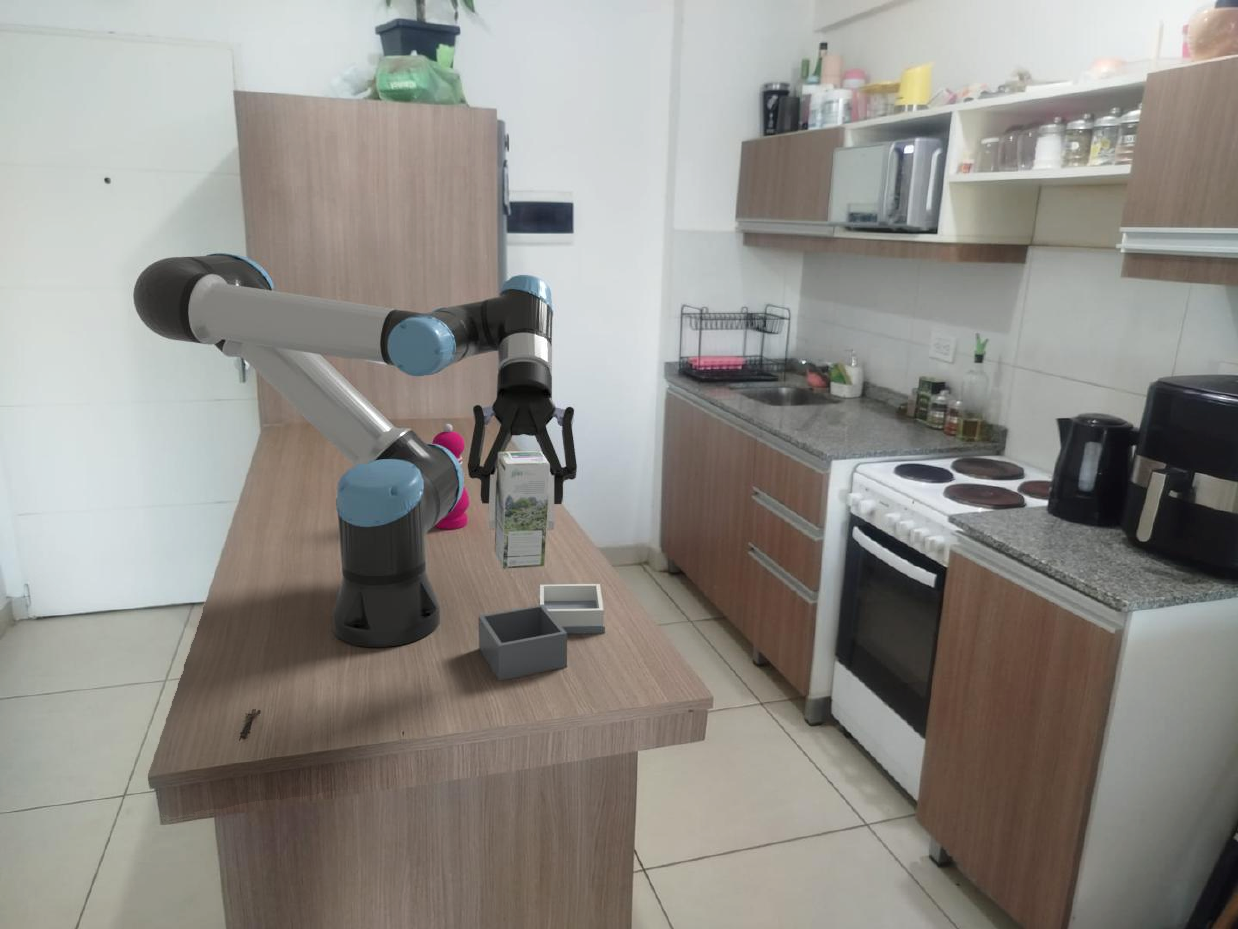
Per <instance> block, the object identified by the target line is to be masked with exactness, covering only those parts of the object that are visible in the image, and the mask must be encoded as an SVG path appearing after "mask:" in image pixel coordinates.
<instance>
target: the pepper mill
mask: <svg viewBox="0 0 1238 929" xmlns="http://www.w3.org/2000/svg"><path fill="white" fill-rule="evenodd" d="M442 430H443V431H441V432H439V433H437V434H436V435H435V436H433V439H432V443H431V444H437V445H440V446H443V447H444V448H446V449H448V450H449V451H450V452H451V453H452V454H453V455H454V456H455V457H456V458H457V460H458V462H459V463H460V465H463V461H462V460H463V457H462V453H463V452H464V451H465V440H464V439H463V437H462V436H461V434H459V433H458V432H456V431H453V425H452V424H450V423H445V424H444V425H443V427H442ZM469 499H470V498H469V495H468V490H467V489H466V487H465V486H464V488H463V492H462V495H461V497H460V499H459V501H458V502H457V504H456V505H455V507H454V509H453V510H452V511H451V512H450V513H449V514H448V515H447V516H446V517H445V518H443V519H441V520H440V521H439V522H438V523H437V524H436V525H435V526H434V527H436V528H438V529H442V530H457V529H461V528H464V527H466V526H467V524H468V514H467V513H466V510H467V509H469V506H470V500H469Z"/></svg>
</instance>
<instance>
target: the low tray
mask: <svg viewBox="0 0 1238 929" xmlns="http://www.w3.org/2000/svg"><path fill="white" fill-rule="evenodd" d="M538 605H544V606H545V608H546V609H547V610H548V611H549V612H550V613H551V615H552V616H553V617H554V618H555V619H556V621H557V622H558V623H559V624H560V625H561V626H562V628H563V629H564V630H565V631H566V632H567V634H605V632H606V631H605V630H606V625H605V624H606V623H605V619H604V618H605V616H604V614H605V613H604V612H605V610H604V603H603V596H602V589H601V584H600V583H577V584H576V583H571V584H569V583H567V584H566V583H565V584H559V583H558V584H539V599H538Z"/></svg>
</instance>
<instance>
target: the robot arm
mask: <svg viewBox="0 0 1238 929" xmlns="http://www.w3.org/2000/svg"><path fill="white" fill-rule="evenodd" d="M274 288H275V285H274V283H273V281H272V279H271V277H270V276H269V274H268V272H267V271H266V270H265V269H264V268H263V267H262V266H261V265H260V264H258V263H257V262H255V261H254V260H252V259H250V258H248V257H245V256H242V255H238V254H232V253H226V252H225V253H224V252H215V253H209V254H207V255H202V256H201V255H200V256H174V257H167V258H163V259H159V260H157V261H155V262H153V263H151V264H149V265H148V266H147V267H146V268H145V269H144V270H142V271H141V273H140V274H139V276H138V277H137V279H136V281H135V284H134V287H133V293H132V294H133V295H132V296H133V305H134V307H135V311H136V313H137V315H138V317H139V318H140V320H141V322H143V325H145V326H146V327H147V328H148V329H149V330H150V331H152V332H153V333H154V334H156V335H159V336H160V337H162V338H166V339H168V340H173V341H179V342H188V343H189V342H190V343H195V344H203V345H211V346H212V345H213V346H215V347H216V348H217V349H218V350H219V351H221V353H222V354H223V355H225V356H226V357H228V358H231V357H232V358H242V359H243V360H244V361H245V362H246V363H247V364H249V366H250V367H251V368H252V369H254V370H255V371H256V372H257V373H258V374H259V376H260V377H262V378H263V380H265V381H266V382H267V383H268V384H269V386H271V387H273V389H274V390H275V391H276V392H277V393H278V394H280V395H281V397H283V399H285V400H286V401H287V402H288V403H289V404H290V405H291V406H292V407H293V408H294V409H295V410H296V411H297V412H298V413H299V414H301V416H303V418H304V419H305V420H306V421H308V422H309V423H310V424H311V425H312V426H313V427H314V428H315V429H316V430H317V431H318V432H319V433H320V434H321V435H322V436H323V437H324V438H325V439H326V440H328V442H329V443H330V444H332V446H333V447H335V448H336V449H337V451H339V452H340V453H341V454H342V455H343V456H344V457H345V458H346V459H347V460H348V461H349V462H350V463H351V464H352V465H353V466H352V467H351V468H349V469H348V470H346V471H345V472H344V473H343V474H342V475H341V476H340V478H339V479H338V482H337V487H336V499H335V507H336V511H337V520H338V521H337V522H338V532H339V534H338V535H339V546H340V559H341V569H342V570H341V571H342V572H341V574H342V580H341V583H340V586H339V590H338V593H337V598H336V601H335V603H334V608H333V611H332V629H333V632H334V634H335V636H336V637H337V638H338V639H339V640H341V641H343V642H345V643H347V644H350V645H354V646H357V647H358V646H359V647H363V648H365V647H366V648H388V647H394V646H400V645H404V644H409V643H412V642H415V641H418V640H420V639H423V638H424V637H427V636H428V635H429V634H431V633H432V632H434V631H435V630H436V629H437V628H438V626H439V624H440V622H441V611H440V608H441V607H440V603H439V599H438V597H437V595H436V592H435V589H434V588H433V587H434V586H433V585H432V583H431V580H430V578H429V576H428V573H427V566H426V563H427V562H426V540H425V538H426V537H425V536H426V534H427V533H428V532H429V531H430V530H431V529H433V527H436V526H435V525H436V524H437V523H438V522H439V521H440V520H441V519H443V518H445V517H446V516H447V515H448V514H449V513H450V512H451V511H452V510H453V509H454V507H455V505H456V504H457V502H458V501H459V499H460V497H461V495H462V492H463V488H464V487H465V483H464V482H465V478H464V472H463V471H464V470H463V469H462V466H461V465H462V464H461V465H460V463H459V462H458V460H457V458H456V457H455V456H454V455H453V454H452V453H451V452H450V451H449V450H448V449H446V448H444V447H443V446H440V445H437V444H432V443H430V442H429V443H428V442H425V441H424V440H423V439H422V438H421V437H420V436H419V435H418V434H416V432H415V431H413V429H411V428H410V427H409V428H407V427H406V428H402V427H401V428H400V427H399V428H398V427H396V426H394V424H392V422H391V421H390V420H389V419H387V418H386V417H385V416H384V415H383V414H382V413H381V412H380V411H379V410H378V409H377V408H376V407H375V406H374V405H373V404H372V403H371V402H370V401H369V400H368V399H367V398H366V397H365V396H364V395H362V394H361V392H360V391H359V390H357V388H355V387H354V386H353V385H352V384H351V383H350V382H349V381H348V380H347V379H346V378H345V377H344V375H342V374H341V373H340V372H339V371H338V370H337V369H336V368H335V367H334V366H333V365H332V364H330V362H329V361H328V360H327V359H326V358H324V357H323V356H329V357H335V358H341V359H347V360H348V359H349V360H353V361H354V360H355V361H361V362H369V363H375V364H380V365H385V366H391V367H396V368H397V369H398V370H400V371H401V372H403V373H404V374H405V375H408V376H412V377H425V376H432V375H435V374H438V373H440V372H442V371H443V370H444V369H446V368H448V367H449V366H451V365H453V364H457V363H458V362H460V361H462V360H465V359H467V358H469V357H473V356H479V355H483V354H486V353H488V354H489V353H492V352H497V353H498V354H497V355H498V356H497V372H498V373H497V381H496V399H495V401H494V402H493V404H492V405H491V406H485V407H483V406H482V405H480V404H476V405H474V406H473V409H472V411H473V419H474V428H473V433H472V438H471V444H470V445H471V446H470V450H469V456H468V461H467V462H468V463H467V470H468V477H469V478H471V479H478V480H479V481H480V501H481V503H482V504H488V517H487V519H488V520H487V522H488V530H490V531H493V530H494V531H495V529H496V498H497V474H496V472H497V463H498V452H506V449H507V447H508V445H509V443H510V442H511V440H512V439H513V436H516V437H517V436H523V435H526V436H529V437H535V439H536V441H537V444H538V445H539V447H540V450H541V452H542V453H543V455H544V456H545V457H546V459H547V461H548V462H549V464H550V475H549V492H548V510H547V531H554V530H555V505H562V504H563V502H564V482H566V481H567V480H575V479H576V477H577V472H578V471H577V470H578V469H577V468H578V465H577V457H576V449H575V442H574V441H575V440H574V435H573V434H574V433H573V424H574V417H575V409H574V407H571V406H568V407H566V408H565V409H564V408H560V407H557V406H556V405H555V403H554V402H553V376H552V374H553V373H552V372H553V345H552V343H553V342H552V341H553V338H552V337H553V317H554V311H553V303H552V293H551V289H550V287H549V285H548V284H547V283H546V282H545V281H544V280H543V279H541V278H540V277H537V276H534V275H530V274H518V275H514V276H511V277H510V278H509V279H508V280H505V281H504V283H502V286H501V288H500V289H501V290H500V293H499V296H497V297H491V298H488V299H485V300H481V301H475V302H470V303H463V304H459V305H453V306H447V307H444V306H443V307H440V308H436V309H434V310H432V311H427V312H417V311H412V310H411V311H409V310H403V309H402V310H401V309H396V308H391V307H383V306H377V305H376V306H375V305H369V304H363V303H357V302H349V301H342V300H337V299H327V298H322V297H316V296H309V295H303V294H295V293H290V292H289V293H288V292H283V291H276V290H274ZM492 417H494V418H495V419H496V420H497V421H498V423H500V427H499V430H498V433H497V435H496V438H495V439H494V441H493V444H492V445H491V448H490V450H489V452H488V455H487V458H485V461H484V464H483V465H481V461H482V460H481V458H482V455H483V448H484V441H485V436H486V426H487V425H489V424H490V422H491V418H492ZM553 418H556V420H557V422H556V423H557V424H558V426H560V427H561V435H562V444H563V452H564V454H563V455H564V462H565V466H562V464H561V463H560V462H561V461H560V460H559V457H558V454H557V452H556V450H555V447H554V445H553V443H552V440H551V438H550V435H549V432H548V430H547V425H548V424H549V423H550V422H551V421H552V419H553Z"/></svg>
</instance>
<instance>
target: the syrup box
mask: <svg viewBox="0 0 1238 929" xmlns="http://www.w3.org/2000/svg"><path fill="white" fill-rule="evenodd" d="M549 475H551V473H550V464H549V462H548V461H547V459H546V457H545V456H544V455H543V453H542V451H540V450H523V451H522V450H515V451H514V450H513V451H511V450H510V451H509V450H508V451H504V452H498V463H497V469H496V478H497V498H496V524H495V530H494V531H495V535H494V537H495V538H494V552H495V556H496V557H497V559H498V562H499V564H500V566H501V567H502V569H503V570H505V569H518V568H519V569H520V568H536V567H544V566H545V564H546V547H547V546H546V545H547V529H548V492H549Z"/></svg>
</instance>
